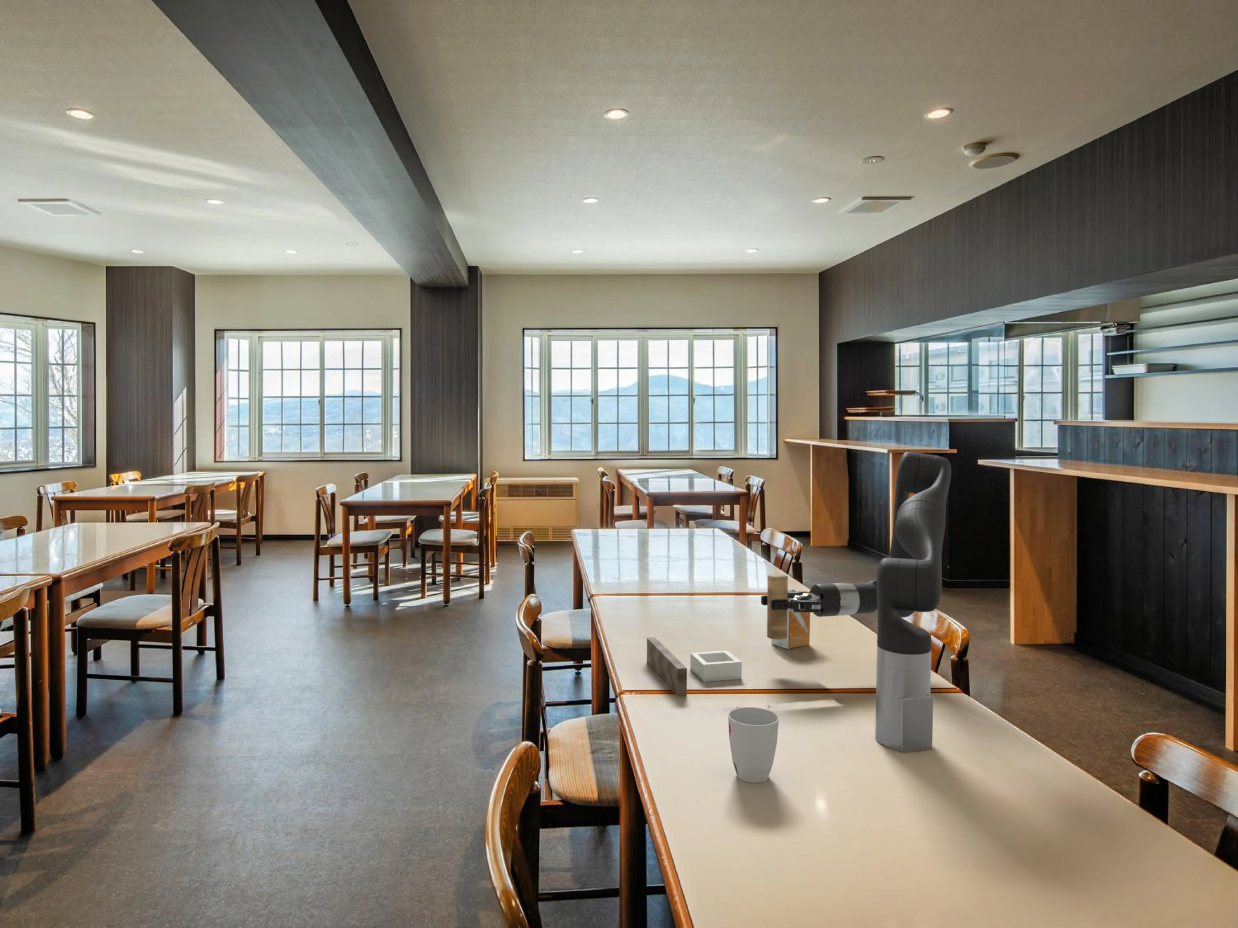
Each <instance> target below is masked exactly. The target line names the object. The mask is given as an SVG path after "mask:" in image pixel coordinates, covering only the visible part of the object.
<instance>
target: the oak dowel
mask: <svg viewBox="0 0 1238 928" xmlns="http://www.w3.org/2000/svg"><path fill="white" fill-rule="evenodd" d="M788 577H789V576H788V575H784V574H769V575H767V595H768V596H767V605H766V606H767V611H766V612H767V613H766V614H767V615H766V616H767V618H766V621H767V622H766V633H767V634H766V637H767V638H768V639H777V640H781V639H786V638H787V609H786V610H772V609H770V601H771V600H778V599H786V600H787V599H788V591H789V590H788V587H789V586H788V585H789V580H788Z"/></svg>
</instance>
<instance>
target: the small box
mask: <svg viewBox="0 0 1238 928" xmlns="http://www.w3.org/2000/svg"><path fill="white" fill-rule="evenodd" d="M810 630H811V612H793V610H791V611H789V610H787V638H786V639H781V640H777V639H771V645H775V646H777V647H780V648H783V649H787V650H790V649H794V648H795V649H796V648H799V647H804V646H809V645H810V639H811V638H810V637H811V634H810V633H811V631H810Z"/></svg>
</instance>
